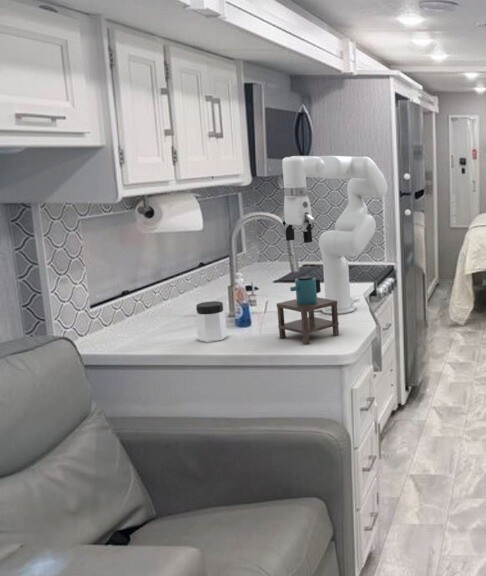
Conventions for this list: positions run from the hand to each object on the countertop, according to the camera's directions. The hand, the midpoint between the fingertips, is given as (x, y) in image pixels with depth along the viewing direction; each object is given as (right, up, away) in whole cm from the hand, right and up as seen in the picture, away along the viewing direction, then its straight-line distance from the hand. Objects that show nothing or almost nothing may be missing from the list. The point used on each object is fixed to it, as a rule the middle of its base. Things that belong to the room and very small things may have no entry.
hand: (299, 241), depth 237 cm
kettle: (+7, -21, -13) cm, 26 cm away
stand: (+7, -33, -10) cm, 35 cm away
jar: (-25, -34, -12) cm, 44 cm away
